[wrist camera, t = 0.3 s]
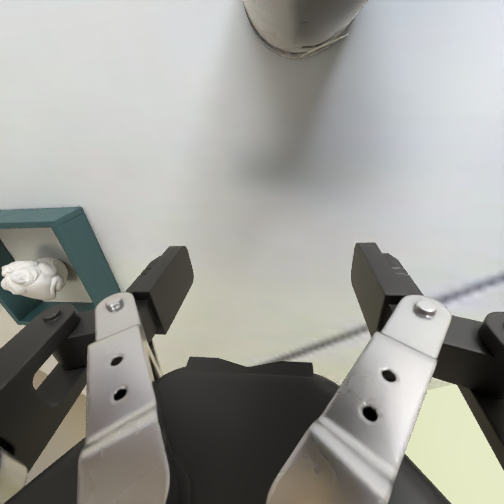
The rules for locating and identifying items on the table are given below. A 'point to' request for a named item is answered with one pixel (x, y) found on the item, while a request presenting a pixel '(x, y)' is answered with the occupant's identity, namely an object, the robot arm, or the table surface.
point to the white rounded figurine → (35, 278)
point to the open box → (76, 248)
